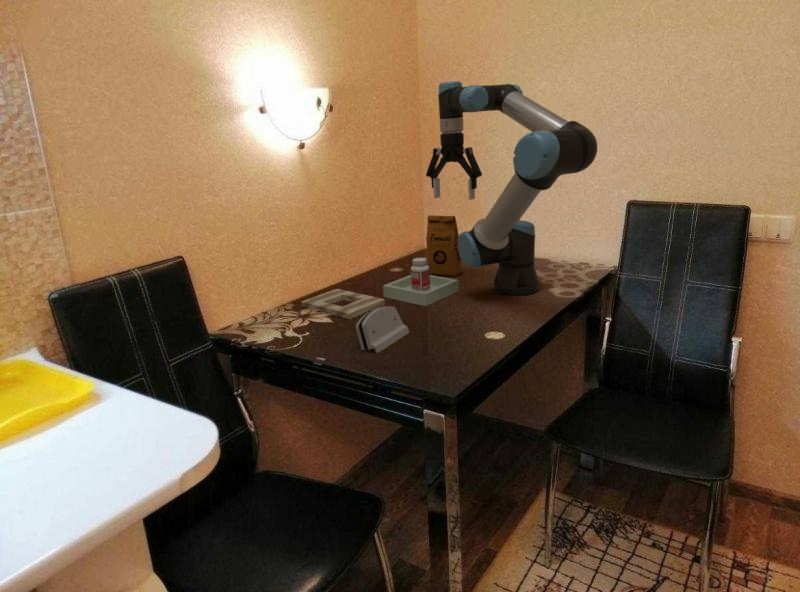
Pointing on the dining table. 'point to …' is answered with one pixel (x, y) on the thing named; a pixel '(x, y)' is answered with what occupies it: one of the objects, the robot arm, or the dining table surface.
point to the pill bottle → (420, 275)
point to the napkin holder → (380, 328)
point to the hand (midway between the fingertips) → (454, 198)
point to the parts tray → (404, 292)
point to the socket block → (348, 311)
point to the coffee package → (443, 246)
